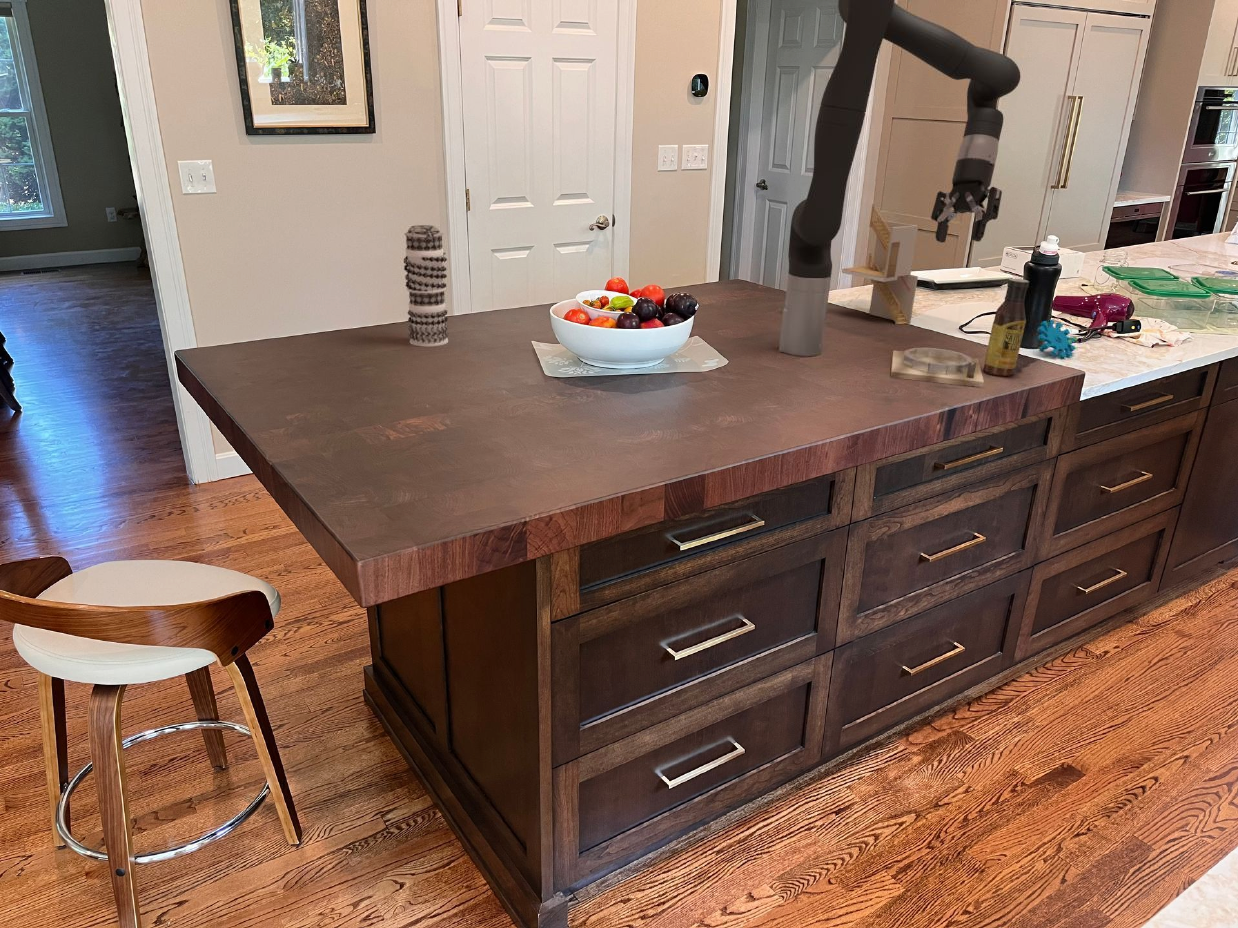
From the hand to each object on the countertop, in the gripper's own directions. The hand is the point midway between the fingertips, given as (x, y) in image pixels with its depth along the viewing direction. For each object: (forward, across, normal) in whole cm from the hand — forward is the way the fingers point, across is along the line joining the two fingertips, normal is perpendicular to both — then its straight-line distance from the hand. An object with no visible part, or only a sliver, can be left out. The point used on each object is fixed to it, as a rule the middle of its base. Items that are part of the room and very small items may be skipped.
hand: (957, 241), depth 183 cm
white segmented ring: (+25, -2, +4) cm, 26 cm away
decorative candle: (+42, -70, -81) cm, 115 cm away
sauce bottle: (+24, +5, +16) cm, 30 cm away
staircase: (+13, -40, +27) cm, 50 cm away
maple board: (+26, -2, +5) cm, 27 cm away
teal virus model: (+16, +2, +41) cm, 44 cm away
